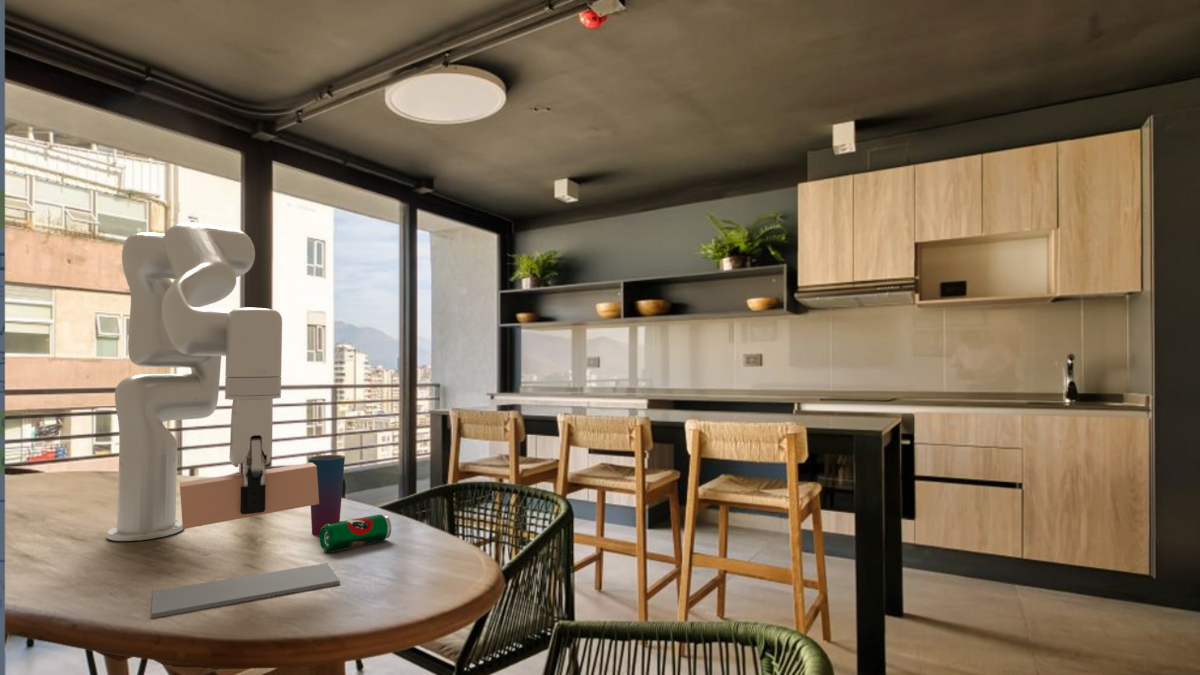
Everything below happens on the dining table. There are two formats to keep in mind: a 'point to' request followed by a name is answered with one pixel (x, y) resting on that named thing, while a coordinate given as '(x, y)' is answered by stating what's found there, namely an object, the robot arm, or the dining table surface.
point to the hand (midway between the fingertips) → (251, 508)
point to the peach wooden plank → (223, 495)
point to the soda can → (354, 533)
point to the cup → (327, 490)
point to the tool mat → (241, 589)
